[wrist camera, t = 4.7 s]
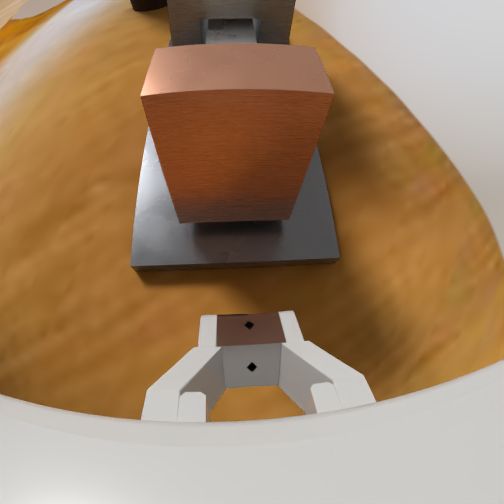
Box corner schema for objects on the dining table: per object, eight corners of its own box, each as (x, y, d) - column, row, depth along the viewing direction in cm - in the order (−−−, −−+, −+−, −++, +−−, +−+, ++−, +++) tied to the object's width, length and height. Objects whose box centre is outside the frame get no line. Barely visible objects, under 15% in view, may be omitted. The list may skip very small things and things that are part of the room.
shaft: (289, 219, 17) (334, 93, 8) (179, 223, 16) (140, 96, 8) (262, 52, 23) (272, -34, 14) (194, 54, 22) (190, -34, 14)
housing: (334, 263, 18) (419, 167, 9) (135, 271, 17) (53, 176, 8) (280, 30, 28) (290, -41, 19) (175, 32, 27) (169, -40, 18)
